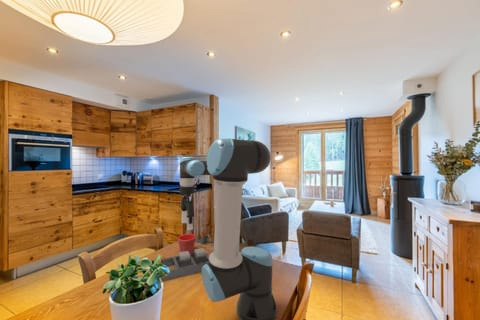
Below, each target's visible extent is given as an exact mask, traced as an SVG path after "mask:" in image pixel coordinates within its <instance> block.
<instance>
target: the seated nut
mask: <svg viewBox="0 0 480 320" xmlns="http://www.w3.org/2000/svg"><path fill="white" fill-rule="evenodd" d="M193 253H194V261H195V263H196V264H198V263H203V262H206V253H207V252H206V250H205V249H204V247H202V248H201V247H200V248H196V249H195V248H194V251H193Z"/></svg>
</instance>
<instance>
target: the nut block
mask: <svg viewBox="0 0 480 320" xmlns="http://www.w3.org/2000/svg"><path fill="white" fill-rule="evenodd" d="M177 256H178V265H179V268H180V267H184V266H189V265H190V254H189V252H188V251H184V252H180V251H179V252H178V255H177Z"/></svg>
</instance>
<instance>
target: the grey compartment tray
mask: <svg viewBox="0 0 480 320" xmlns="http://www.w3.org/2000/svg"><path fill="white" fill-rule="evenodd" d="M160 259H161V263H162V264H164V265H166V266H167V267H171V266H172V269H169V270H170V273H169V274H168V275H167V276H165V277H163V278H161V280H162V281H161V282H164V281H165V282H166V281H169V280H173V279H178V278H182V277H186V276H189V275H195V274H199V273H202V267H203V266H204V265H205V264H208V263H209V254H208V253H207V252H206V262H203V263H198V264H196V263H195V261H194V252H193V253H190V265H189V266H184V267H180V268H179V265H178V255H176V256H170V257H164V258H160Z"/></svg>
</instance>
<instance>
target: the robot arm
mask: <svg viewBox="0 0 480 320" xmlns="http://www.w3.org/2000/svg"><path fill="white" fill-rule="evenodd" d="M179 158H180V159H179V185H180V186H179V194H180V195H181V204H180V210H181V224H186V229H187V230H186V231H193V230H194V217H195V210H194V201H193V200H194V199H193V198H194V197H193V196H192V194H194V193H195V181H196V179H195V177H199V176H212V181H214V182H215V184H216V195H215V196H216V198H215V200H216V201H215V215H214V216H215V218H214V219H215V220H214V237H213V251H212V252H211V253H210V254H208V256H209V263H208V264H205V265H204V266H203V267H202V272H201V279H202V284H203V287H204V290H205V293H206V295H207V296H208V297H207V298H208V299H209V300H211V301H212V302H214V303H218V302H221V301H226V300H227V299H230V298H232V297H234V296H237V295H239V296H238V300H237V302H236V314H238V315H237V316H239V317H240V318H241V319H242V320H273V319H274V318H275V316H276V317H277V314H276V313H277V311H278V310H277V308H278V307H277V303H276V301H275V297H274V293H273V265H274V264H273V258H272V254H271V253H270V252H269V251H268V250H267V249H264V248H262V247H259V246H258V247H257V246H245V247H243V248H242V249H241V251H239V250H240V249H239V248H240V233H241V219H242V218H241V217H242V215H241V214H242V201H243V186H244V185H245V183H247V182H248V178H249V176H248V175H249V174H258V173H261V172H263V171H265V170H266V169H267V168H268V167H269V166H270V164H271V158H272V157H271V152H270V149H269V148H268V147H267V145H266V144H264V143H263V142H261V141H259V140H251V139H249V140H247V139H240V138H239V139H238V138H217V139H215V140H214V141H213V142H212V144H211V145H210V147H209V149H208V152H207V157H206V160H198V159H196V160H195V157H193V156H182V157H179ZM239 317H238V318H239ZM240 318H239V319H240ZM241 319H240V320H241ZM275 319H276V318H275ZM275 319H274V320H275Z"/></svg>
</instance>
